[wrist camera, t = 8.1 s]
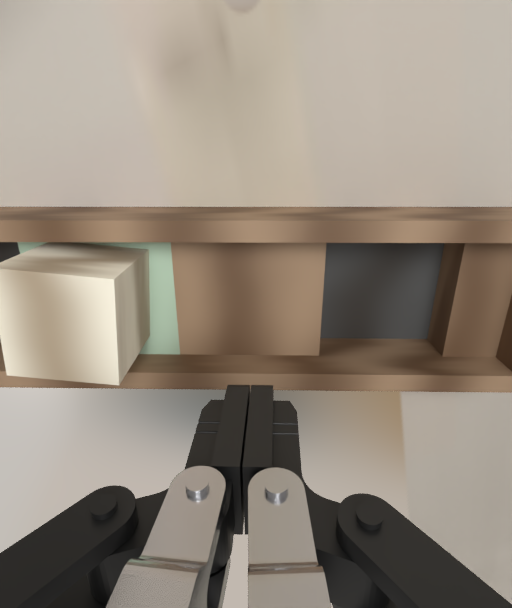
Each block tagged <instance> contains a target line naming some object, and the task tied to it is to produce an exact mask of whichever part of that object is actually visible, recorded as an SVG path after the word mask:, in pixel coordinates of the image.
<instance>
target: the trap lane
mask: <svg viewBox="0 0 512 608" xmlns="http://www.w3.org/2000/svg"><path fill="white" fill-rule="evenodd" d="M47 242H75V243H86V244H96V245H107V246H118V247H128V248H139V249H149V288H150V336H149V338H148V340H147V341H146V343H145V345H144V346H143V348H142V349H141V351H140V353H139V354H138V356H137V357H136V359H135V361H134V362H133V364H132V365H131V367H130V369H129V370H128V372H127V374H126V375H125V377H124V378H123V380H122V382H121V383H120V385H109V384H97V383H86V382H75V381H64V380H53V379H41V378H30V377H19V376H8V375H7V374H6V368H5V362H4V357H3V351H2V345H1V339H0V387H32V388H33V387H36V388H37V387H38V388H130V389H132V388H133V389H227V386H228V385H250V390H251V385H273V390H326V391H328V390H330V391H424V392H512V207H0V262H3V261H5V260H7V259H10V258H12V257H14V256H17V255H19V254H21V253H24V252H26V251H29V250H31V249H33V248H36V247H38V246H40V245H43V244H45V243H47Z"/></svg>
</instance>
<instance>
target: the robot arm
mask: <svg viewBox="0 0 512 608" xmlns="http://www.w3.org/2000/svg"><path fill="white" fill-rule="evenodd" d="M244 519H245V534H248V552H249V553H248V555H249V556H248V557H249V558H248V561H249V566H248V608H331V604H330V603H332V605H333V608H512V604H510V603H509V602H508V601H507V600H506V599H504V598H503V597H502V596H501V595H499V594H498V593H497V592H496V591H495V590H493V589H492V588H491V587H490V586H488V585H487V584H486V583H485V582H484V581H482V580H481V579H480V578H479V577H477V576H476V575H475V574H474V573H473V572H471V571H470V570H469V569H468V568H466V567H465V566H464V565H463V564H462V563H460V562H459V561H458V560H457V559H455V558H454V557H453V556H452V555H451V554H449V553H448V552H447V551H446V550H445V549H443V548H442V547H441V546H440V545H438V544H437V543H436V542H435V541H434V540H432V539H431V538H430V537H429V536H427V535H426V534H425V533H424V532H423V531H421V530H420V529H419V528H418V527H416V526H415V525H414V524H413V523H412V522H410V521H409V520H408V519H407V518H405V517H404V516H403V515H402V514H401V513H399V512H398V511H397V510H396V509H395V508H393V507H392V506H391V505H390V504H388V503H387V502H386V501H384V500H382V499H381V498H379V497H376V496H373V495H370V494H354V495H351V496H349V497H347V498H345V499H344V500H343V501H342V502H341V503H338V502H335V501H332V500H328V499H326V498H323V497H321V496H319V495H317V494H316V493H314V492H313V491H312V490H311V489H309V487H308V486H307V485H306V483H305V482H304V480H303V478H302V473H301V460H300V447H299V435H298V421H297V412H296V410H295V408H294V407H293V405H292V404H291V403H290V401H273V385H251V393H250V385H228V386H227V390H226V394H225V399H224V400H211V401H210V402H209V403H208V404H207V405H206V406H205V407H204V408H203V409H202V411H201V415H200V418H199V423H198V425H197V428H196V433H195V435H194V439H193V442H192V446H191V449H190V453H189V456H188V460H187V463H186V467H185V470H184V471H182V472H181V473H179V474H178V475H177V476H176V477H175V478H174V480H173V481H172V483H171V485H170V487H169V488H168V489H166V490H165V491H162V492H160V493H157V494H154V495H150V496H145V497H142V498H138V499H135V497H134V494H133V493H132V492H131V491H130V490H129V489H127V488H125V487H122V486H108V487H103V488H100V489H98V490H96V491H94V492H92V493H90V494H89V495H87V496H86V497H84V498H83V499H81V500H80V501H78V502H77V503H75V504H74V505H72V506H71V507H69V508H68V509H66V510H65V511H63V512H62V513H60V514H59V515H57V516H56V517H54V518H53V519H51V520H50V521H48V522H47V523H45V524H44V525H42V526H41V527H39V528H38V529H36V530H35V531H33V532H32V533H30V534H29V535H27V536H25V537H24V538H22V539H21V540H19V541H18V542H16V543H15V544H14V545H12V546H10V547H9V548H7V549H6V550H4V551H3V552H1V553H0V608H222V605H223V600H224V595H225V589H226V583H227V579H228V573H229V568H230V555H231V551H232V543H233V535H234V534H243V523H244Z"/></svg>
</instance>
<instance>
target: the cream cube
mask: <svg viewBox="0 0 512 608" xmlns="http://www.w3.org/2000/svg"><path fill="white" fill-rule="evenodd" d="M149 336H150V288H149V249H139V248H128V247H118V246H107V245H96V244H86V243H75V242H47V243H45V244H43V245H40V246H38V247H36V248H33V249H31V250H29V251H26V252H24V253H21V254H19V255H17V256H14V257H12V258H10V259H7V260H5V261H3V262H0V339H1V345H2V351H3V357H4V362H5V368H6V374H7V375H8V376H19V377H30V378H41V379H53V380H64V381H75V382H86V383H97V384H109V385H120V383H121V382H122V380H123V378H124V377H125V375H126V374H127V372H128V370H129V369H130V367H131V365H132V364H133V362H134V361H135V359H136V357H137V356H138V354H139V353H140V351H141V349H142V348H143V346H144V345H145V343H146V341H147V340H148V338H149Z"/></svg>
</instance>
